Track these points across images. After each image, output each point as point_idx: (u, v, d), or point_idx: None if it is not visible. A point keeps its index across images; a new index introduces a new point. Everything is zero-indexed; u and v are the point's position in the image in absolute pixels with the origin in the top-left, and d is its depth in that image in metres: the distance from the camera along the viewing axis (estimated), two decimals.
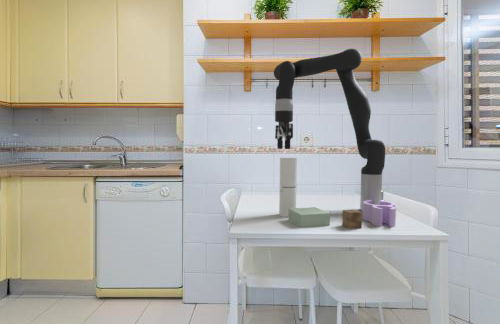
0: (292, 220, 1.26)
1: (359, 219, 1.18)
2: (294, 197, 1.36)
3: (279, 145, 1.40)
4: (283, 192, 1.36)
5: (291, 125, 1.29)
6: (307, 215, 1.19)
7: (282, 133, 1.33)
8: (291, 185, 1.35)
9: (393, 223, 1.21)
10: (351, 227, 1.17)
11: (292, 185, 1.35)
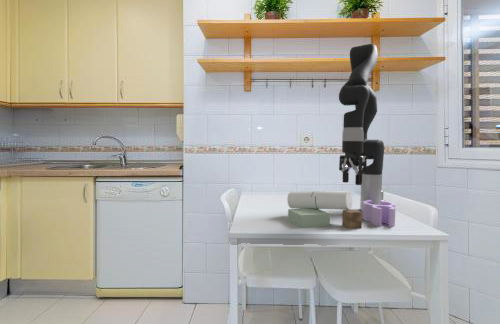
0: (292, 221, 1.26)
1: (359, 219, 1.18)
2: None
3: (345, 178, 1.23)
4: (310, 198, 1.29)
5: (365, 158, 1.13)
6: (307, 215, 1.19)
7: (352, 166, 1.16)
8: (318, 206, 1.27)
9: (392, 223, 1.21)
10: (351, 227, 1.17)
11: (318, 207, 1.28)
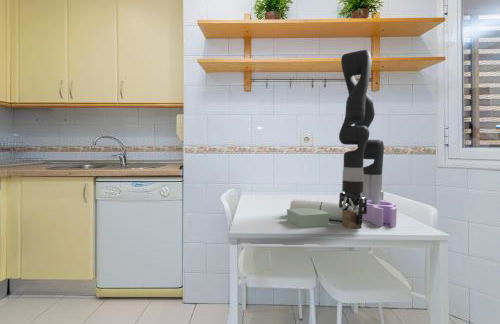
0: (291, 221, 1.25)
1: None
2: None
3: None
4: (316, 201, 1.34)
5: (365, 200, 1.13)
6: (307, 215, 1.18)
7: (352, 206, 1.17)
8: (322, 206, 1.30)
9: (394, 223, 1.21)
10: (351, 227, 1.17)
11: (322, 207, 1.30)
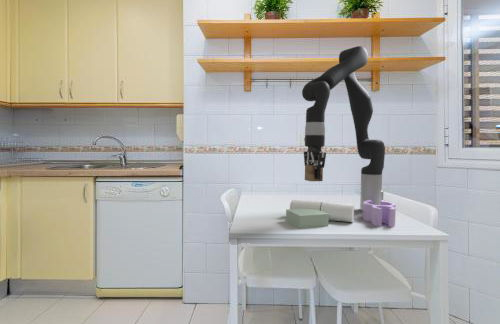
0: (290, 221, 1.25)
1: (320, 172, 1.22)
2: None
3: None
4: (315, 202, 1.32)
5: (324, 154, 1.18)
6: (306, 216, 1.18)
7: (312, 160, 1.21)
8: (322, 209, 1.28)
9: (393, 223, 1.20)
10: (312, 180, 1.21)
11: (322, 210, 1.28)
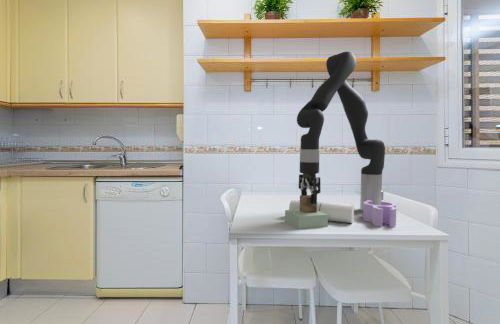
0: (289, 222, 1.24)
1: (314, 204, 1.23)
2: None
3: None
4: None
5: (318, 179, 1.19)
6: (305, 216, 1.17)
7: (308, 186, 1.22)
8: None
9: (393, 223, 1.20)
10: (306, 211, 1.22)
11: None
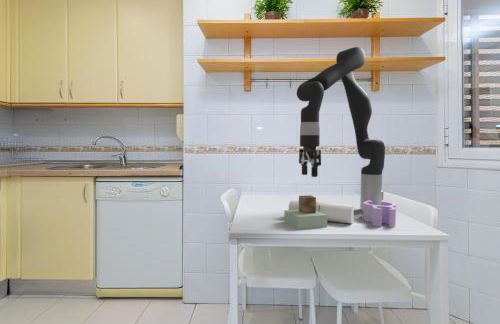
0: (288, 222, 1.23)
1: (313, 204, 1.22)
2: None
3: (304, 171, 1.29)
4: None
5: (319, 151, 1.18)
6: (304, 217, 1.16)
7: (308, 159, 1.22)
8: None
9: (393, 224, 1.20)
10: (305, 212, 1.21)
11: None
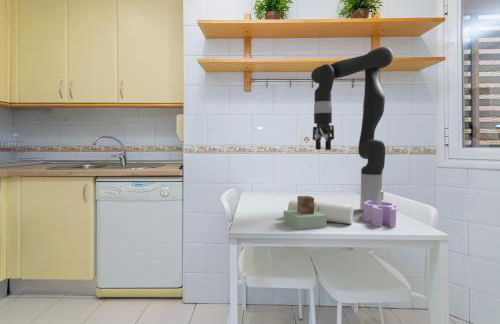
0: (288, 223, 1.22)
1: (311, 205, 1.21)
2: None
3: (317, 146, 1.43)
4: None
5: (332, 127, 1.33)
6: (304, 217, 1.16)
7: (322, 134, 1.36)
8: None
9: (393, 224, 1.20)
10: (302, 212, 1.20)
11: None
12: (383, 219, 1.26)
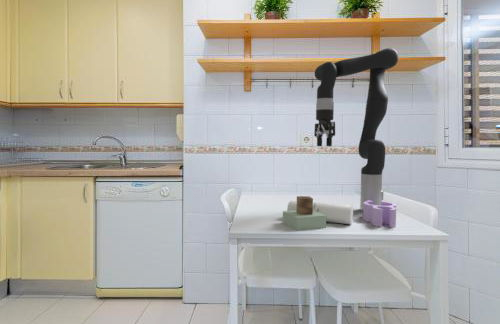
0: (287, 223, 1.22)
1: (310, 205, 1.20)
2: None
3: (319, 142, 1.46)
4: None
5: (333, 123, 1.35)
6: (303, 217, 1.15)
7: (324, 131, 1.38)
8: None
9: (393, 224, 1.20)
10: (301, 213, 1.19)
11: None
12: (383, 219, 1.26)
